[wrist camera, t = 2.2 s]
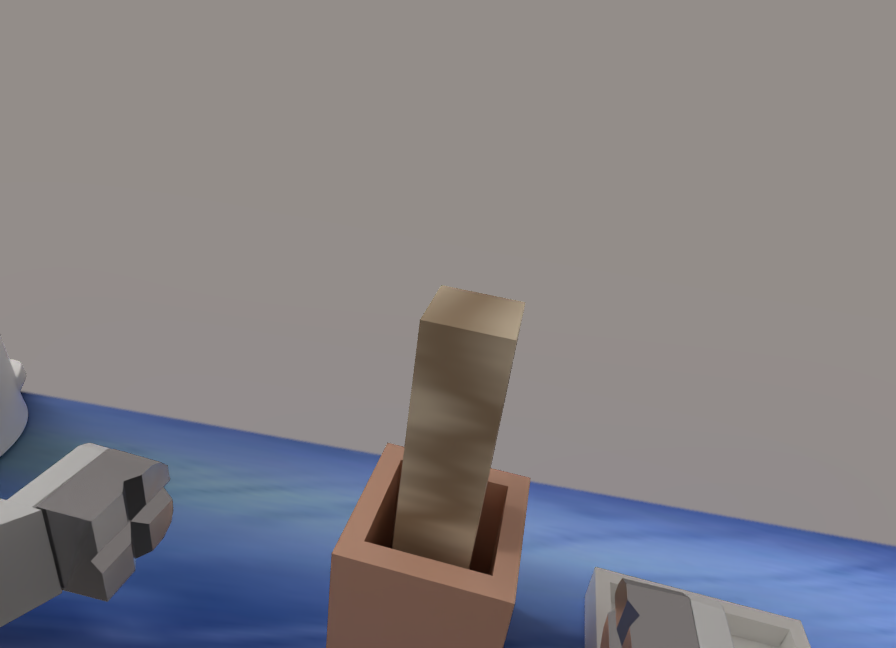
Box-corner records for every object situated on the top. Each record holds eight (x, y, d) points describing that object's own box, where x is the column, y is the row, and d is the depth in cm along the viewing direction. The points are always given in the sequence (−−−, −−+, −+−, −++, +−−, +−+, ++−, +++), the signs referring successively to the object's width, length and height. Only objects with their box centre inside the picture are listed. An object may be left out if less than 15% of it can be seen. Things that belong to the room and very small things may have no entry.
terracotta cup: (323, 690, 27) (331, 553, 23) (374, 566, 33) (387, 442, 29) (478, 738, 26) (514, 603, 22) (499, 600, 33) (530, 477, 29)
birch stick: (379, 649, 28) (420, 319, 20) (399, 592, 31) (441, 285, 23) (447, 669, 28) (516, 340, 20) (460, 609, 31) (525, 302, 23)
